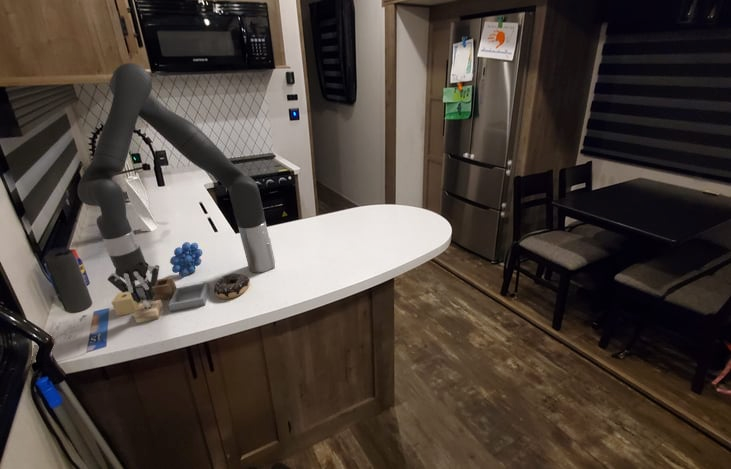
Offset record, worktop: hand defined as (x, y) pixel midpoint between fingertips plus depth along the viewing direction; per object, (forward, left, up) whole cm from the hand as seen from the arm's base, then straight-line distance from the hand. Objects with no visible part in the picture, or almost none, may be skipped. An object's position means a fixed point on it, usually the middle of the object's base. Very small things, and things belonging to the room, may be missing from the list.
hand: (145, 299), depth 111 cm
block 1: (+8, -7, -6) cm, 12 cm away
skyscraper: (+22, -80, -6) cm, 83 cm away
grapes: (-7, -25, -6) cm, 26 cm away
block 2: (-2, -11, -6) cm, 12 cm away
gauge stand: (0, 0, -6) cm, 6 cm away
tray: (-11, -5, -6) cm, 13 cm away
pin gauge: (0, 0, -4) cm, 4 cm away
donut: (-23, -6, -6) cm, 25 cm away
